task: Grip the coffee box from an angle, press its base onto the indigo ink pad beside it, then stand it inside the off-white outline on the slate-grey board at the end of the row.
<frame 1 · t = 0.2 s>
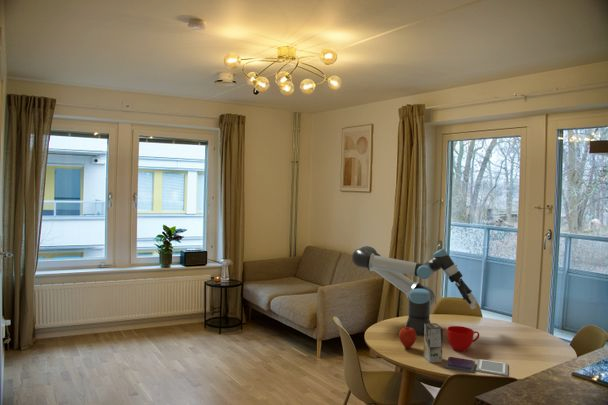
hand: (475, 305, 270), 15 cm above the table, tool tilted 35°, fingers open, 13 cm apart
ink pad: (460, 365, 219), on the table
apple: (407, 348, 242), on the table
coffee box: (432, 359, 227), on the table
marked board: (492, 367, 217), on the table
ceramic cup: (463, 349, 242), on the table
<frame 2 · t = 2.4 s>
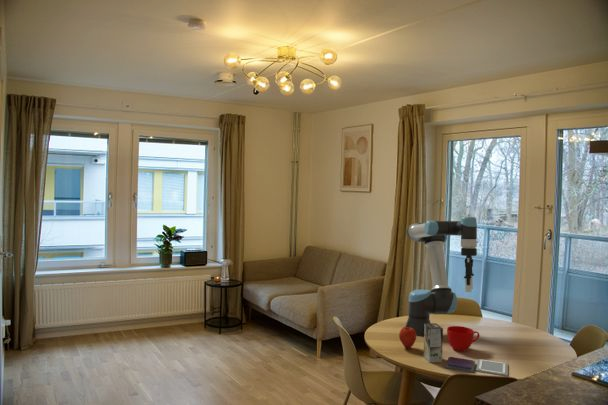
hand: (469, 290, 237), 31 cm above the table, tool pointing down, fingers open, 13 cm apart
nothing on the table moved.
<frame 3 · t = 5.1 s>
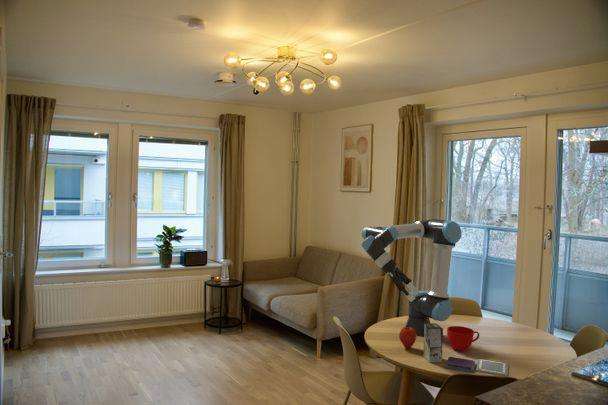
hand: (415, 297, 230), 29 cm above the table, tool tilted 45°, fingers open, 13 cm apart
nothing on the table moved.
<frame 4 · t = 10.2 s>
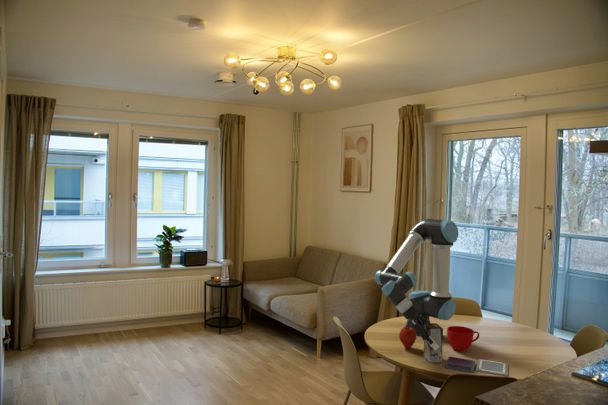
hand: (439, 345, 225), 7 cm above the table, tool tilted 45°, fingers closed on coffee box, 11 cm apart
coffee box: (432, 359, 227), on the table, touching gripper
everything else where it was.
when the fingers open (9 cm above the table, at t = 23.1 s): coffee box drops 2 cm, resting on marked board.
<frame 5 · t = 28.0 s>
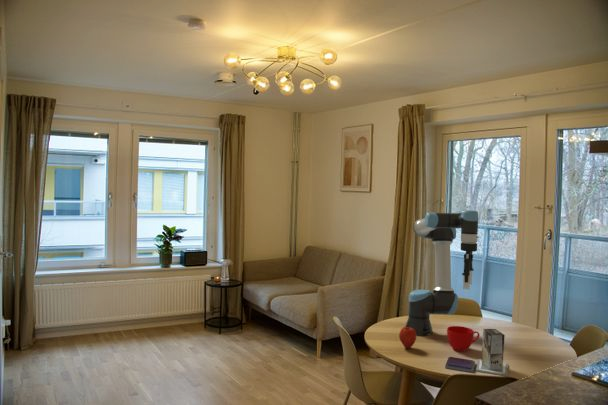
hand: (467, 286, 228), 35 cm above the table, tool pointing down, fingers open, 13 cm apart
coffee box: (491, 366, 217), point 1 cm above the table, touching marked board
everything else where it was.
at the end: coffee box 0.4 cm off-centre on the marked board, point 0.5 cm above the marked board's base; coffee box tilted 1°; the gripper is holding nothing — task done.
